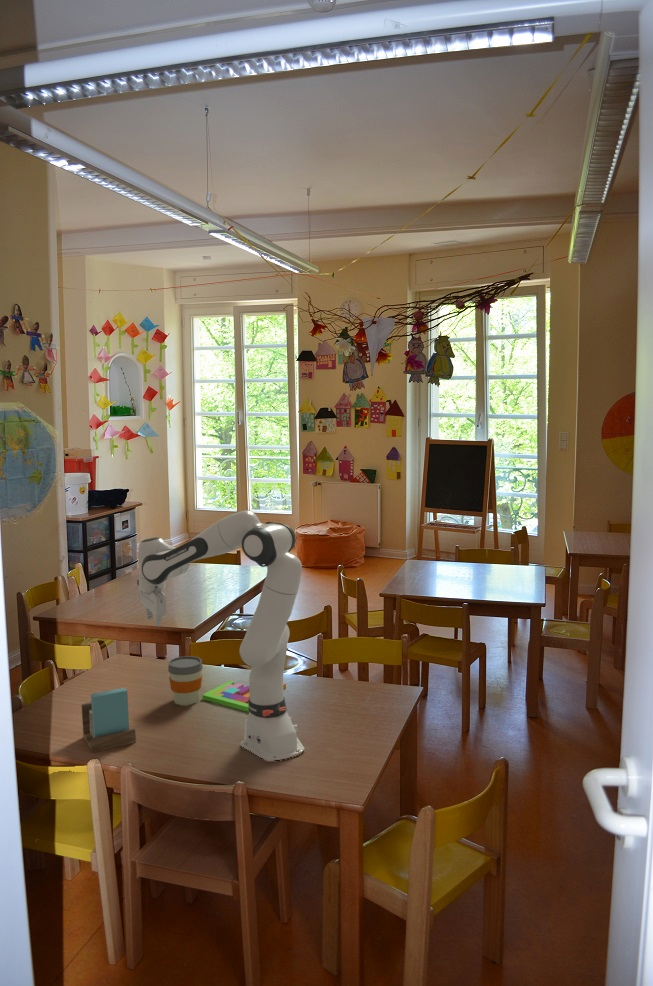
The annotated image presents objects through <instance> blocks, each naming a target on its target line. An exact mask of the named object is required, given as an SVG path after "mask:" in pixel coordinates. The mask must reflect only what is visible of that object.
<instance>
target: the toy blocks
mask: <svg viewBox="0 0 653 986" xmlns="http://www.w3.org/2000/svg"><path fill="white" fill-rule="evenodd" d="M285 689H287V683H285V682H283V690H285ZM249 698H250V690H249V685H246V686H245V687H244V684H243V683H240V682H239V683H236V684H235V681H231V680H229V681H227V682H225V683H222V684H221V685H219V686H217V687H215V688H213V689H211V690H209V691H207V692H205V693H203V694H202V700H203V701H208V702H211V703H215V704H219V705H223V706H225V707H229V708H232V709H233V708H234V709H236V710H241V711H244V712H246V713H247V712H248V713H249V708H248V701H249Z"/></svg>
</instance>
